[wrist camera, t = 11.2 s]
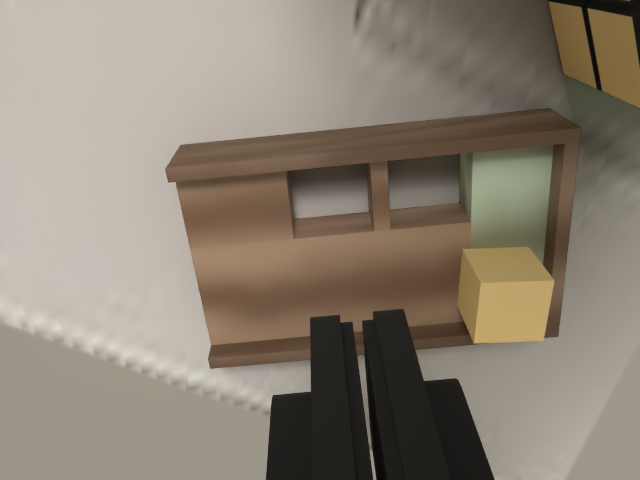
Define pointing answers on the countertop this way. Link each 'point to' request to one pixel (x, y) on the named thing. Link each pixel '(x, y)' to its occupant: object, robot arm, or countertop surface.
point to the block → (504, 295)
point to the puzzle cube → (600, 44)
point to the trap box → (367, 229)
